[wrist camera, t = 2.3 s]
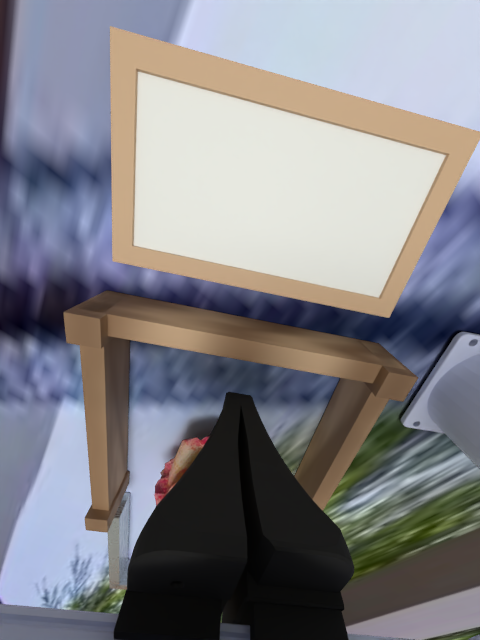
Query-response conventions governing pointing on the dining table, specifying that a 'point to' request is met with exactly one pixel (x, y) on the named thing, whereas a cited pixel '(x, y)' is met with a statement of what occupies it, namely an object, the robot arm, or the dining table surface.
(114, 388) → the wooden frame
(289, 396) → the dining table surface
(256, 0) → the dining table surface
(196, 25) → the dining table surface
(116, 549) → the stand tray
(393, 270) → the frame lid
